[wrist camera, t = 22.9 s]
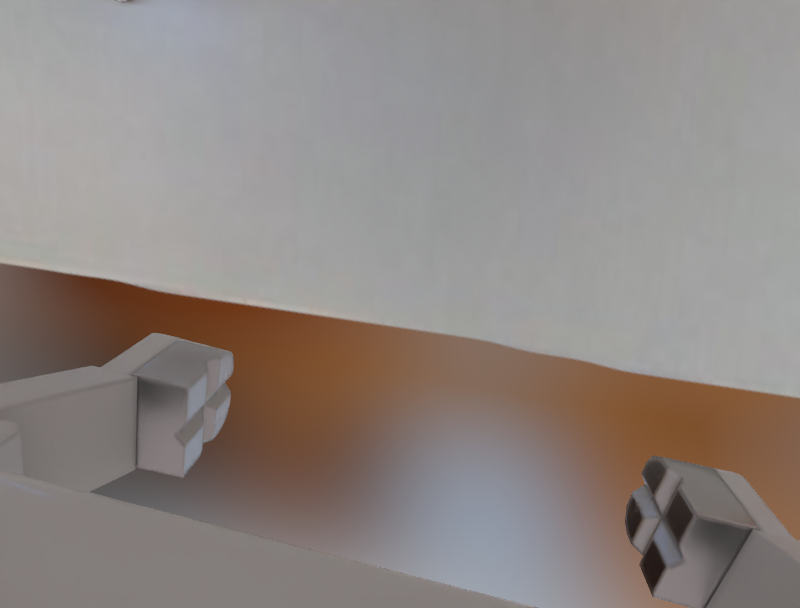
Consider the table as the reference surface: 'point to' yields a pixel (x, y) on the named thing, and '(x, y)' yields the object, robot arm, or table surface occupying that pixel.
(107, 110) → the table surface
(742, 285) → the table surface
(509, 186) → the table surface
